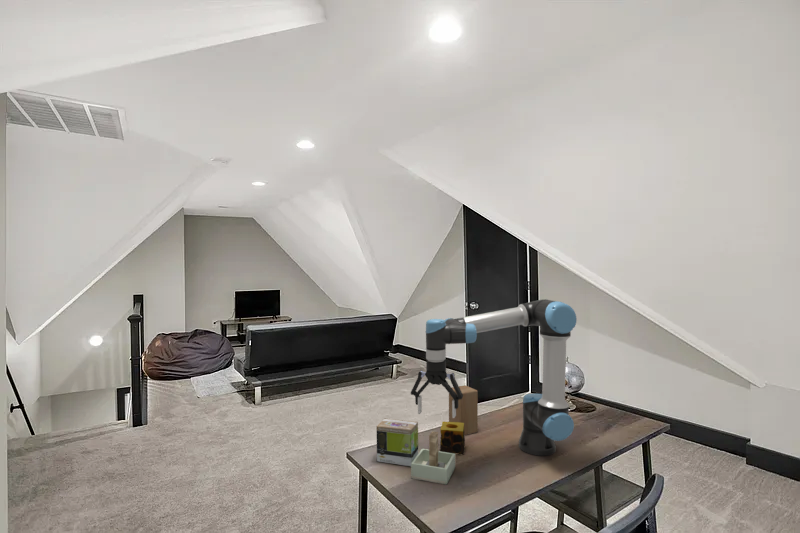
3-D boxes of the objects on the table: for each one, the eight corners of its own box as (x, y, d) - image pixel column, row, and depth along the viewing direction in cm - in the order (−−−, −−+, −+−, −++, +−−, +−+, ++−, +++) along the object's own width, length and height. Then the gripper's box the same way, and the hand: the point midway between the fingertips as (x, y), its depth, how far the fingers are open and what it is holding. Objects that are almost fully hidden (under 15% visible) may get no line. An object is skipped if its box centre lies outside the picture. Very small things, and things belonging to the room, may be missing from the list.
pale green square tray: (455, 467, 169) (455, 453, 169) (446, 484, 156) (446, 469, 156) (422, 462, 174) (422, 448, 174) (411, 478, 161) (411, 463, 161)
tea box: (418, 456, 179) (418, 421, 178) (411, 467, 169) (411, 430, 169) (384, 451, 184) (384, 416, 183) (376, 462, 174) (375, 425, 174)
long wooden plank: (438, 468, 166) (438, 432, 166) (435, 473, 163) (435, 436, 162) (432, 467, 167) (432, 431, 167) (429, 472, 163) (429, 435, 163)
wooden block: (448, 429, 208) (448, 387, 207) (465, 425, 212) (465, 384, 212) (460, 436, 199) (460, 393, 198) (478, 432, 203) (478, 390, 203)
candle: (464, 455, 180) (463, 431, 180) (439, 453, 182) (439, 429, 182) (465, 445, 190) (465, 422, 190) (442, 443, 192) (442, 420, 192)
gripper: (470, 359, 165) (470, 414, 165) (408, 355, 173) (409, 408, 174) (466, 364, 158) (467, 421, 158) (402, 359, 166) (402, 414, 167)
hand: (436, 414), depth 166 cm, fingers open, 13 cm apart
